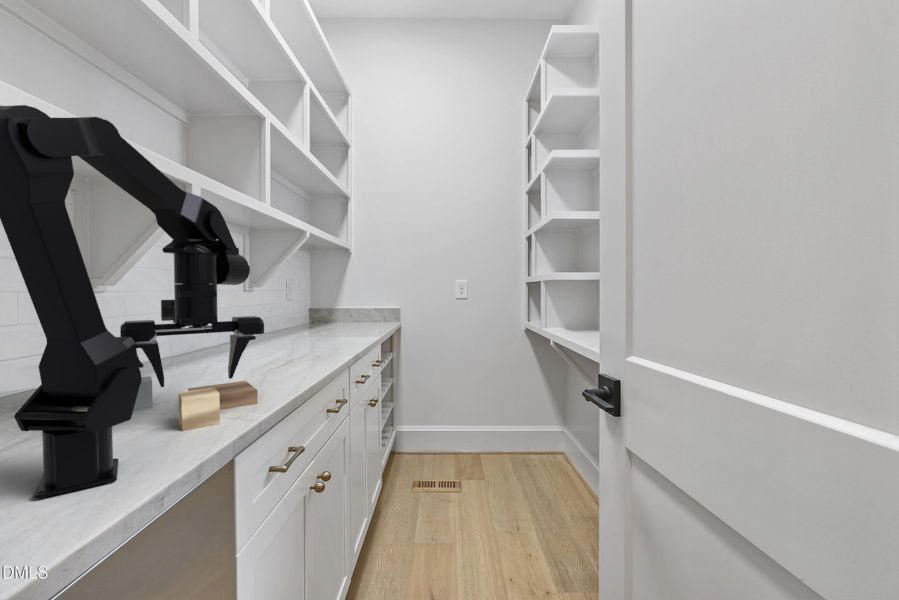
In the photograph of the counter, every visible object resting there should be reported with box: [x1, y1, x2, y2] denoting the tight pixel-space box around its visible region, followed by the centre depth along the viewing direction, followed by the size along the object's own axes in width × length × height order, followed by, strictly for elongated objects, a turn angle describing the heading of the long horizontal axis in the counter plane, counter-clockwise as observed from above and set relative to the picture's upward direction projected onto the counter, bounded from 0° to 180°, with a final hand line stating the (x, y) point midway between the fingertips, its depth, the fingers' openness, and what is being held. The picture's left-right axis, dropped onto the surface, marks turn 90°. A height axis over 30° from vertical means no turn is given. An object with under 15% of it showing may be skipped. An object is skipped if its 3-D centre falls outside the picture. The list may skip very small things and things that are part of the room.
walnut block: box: [187, 380, 259, 411], centre depth 76 cm, size 10×10×3 cm
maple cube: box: [178, 388, 221, 432], centre depth 64 cm, size 5×5×5 cm
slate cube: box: [133, 375, 154, 412], centre depth 73 cm, size 5×5×5 cm
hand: (197, 382), depth 64 cm, fingers open, 9 cm apart
